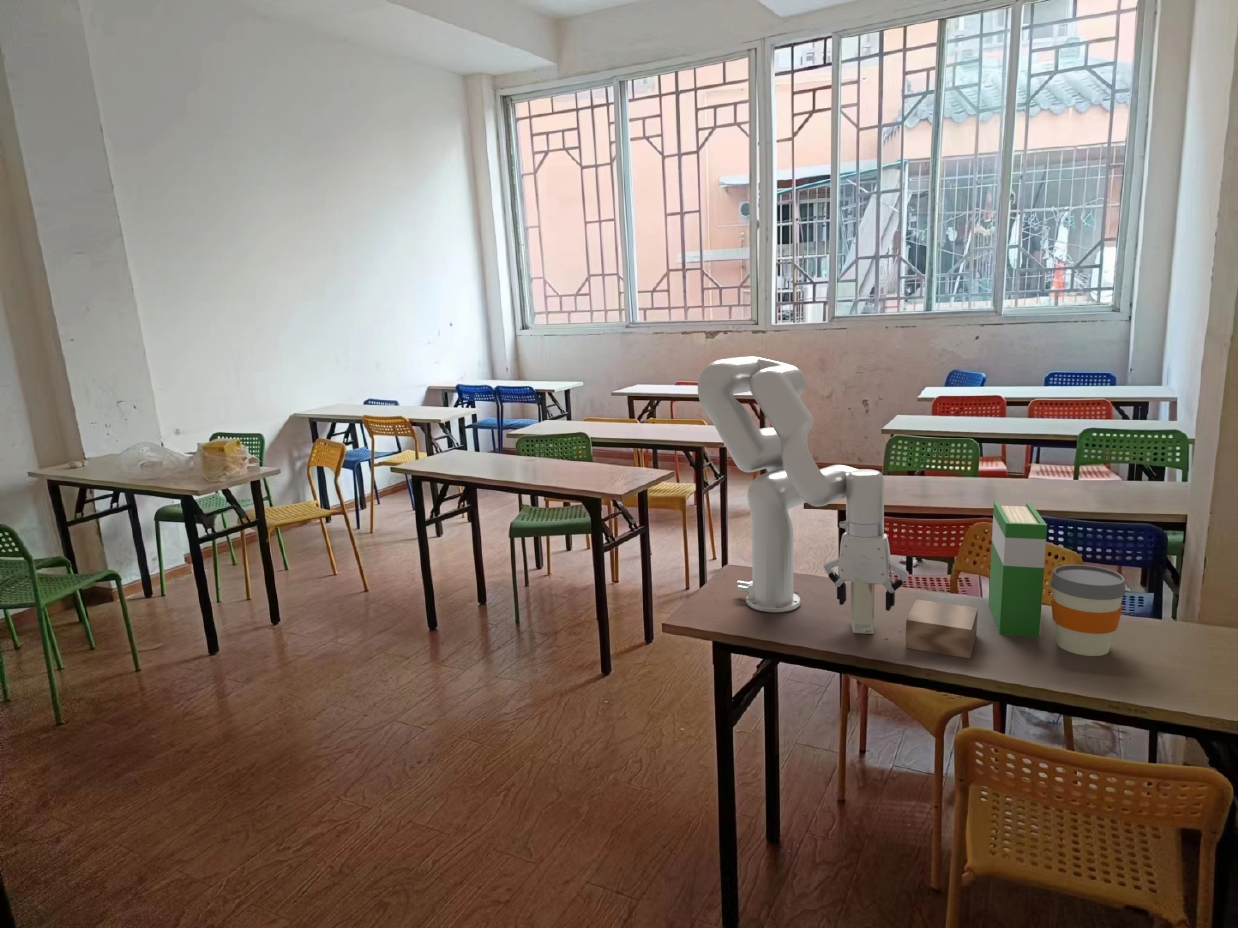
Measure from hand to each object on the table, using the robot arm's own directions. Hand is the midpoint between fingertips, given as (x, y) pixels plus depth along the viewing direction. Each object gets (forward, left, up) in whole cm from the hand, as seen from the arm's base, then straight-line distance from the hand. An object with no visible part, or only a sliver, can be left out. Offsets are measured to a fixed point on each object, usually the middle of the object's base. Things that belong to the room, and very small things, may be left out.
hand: (865, 605), depth 164 cm
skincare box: (-1, 0, -6) cm, 6 cm away
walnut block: (+15, 0, -5) cm, 16 cm away
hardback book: (+27, +18, -6) cm, 33 cm away
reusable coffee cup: (+40, +9, -6) cm, 42 cm away
